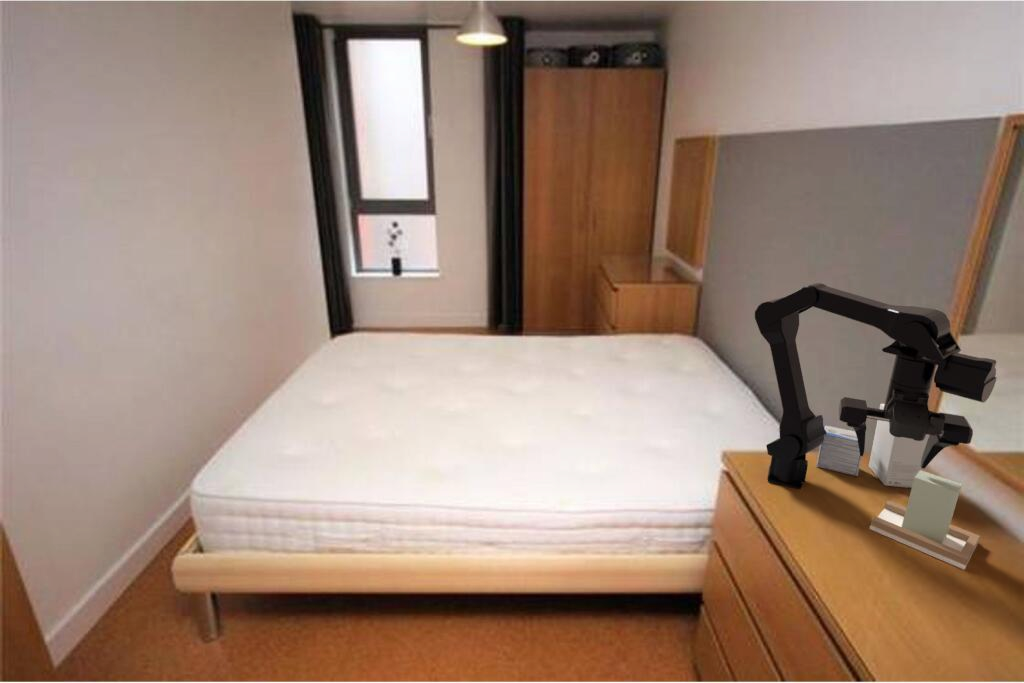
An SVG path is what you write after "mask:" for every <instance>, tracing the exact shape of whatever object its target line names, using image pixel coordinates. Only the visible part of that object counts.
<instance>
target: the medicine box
mask: <svg viewBox="0 0 1024 683" xmlns="http://www.w3.org/2000/svg"><path fill="white" fill-rule="evenodd" d="M823 426H824V429H825V431H826V432H827V434H825V435H824V441H823V442H822V443H821V445H820V446H819V451H818V456H817V462H816V467H818V468H821V469H825V470H830V471H834V472H838V473H843V474H845V475H851V476H855V477H858V476H859V472H860V466H861V463H862V462H861V461H862V457H863V456H860V451H859V445H858V439H857V435H856V433H855V430H848V429H845V428H840V427H835V426H830V425H823Z"/></svg>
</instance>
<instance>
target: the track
mask: <svg viewBox="0 0 1024 683" xmlns="http://www.w3.org/2000/svg"><path fill="white" fill-rule="evenodd" d="M906 508H907V506H905V505H902V504H900V503H896V502H894V501H891V500H887V501H886V502H885V505H884V508H883V510H882V511H881V512H880V513H879V514H878V516H876V515H874V517H873V518H872V519H871V523H870V525H869V530H871V531H874V532H875V533H877V534H880V535H883V536H885V537H887V538H890V539H893V540H894V541H897V542H898V543H901V544H904V545H906V546H908V547H910V548H913V549H915V550H918V551H920V552H922V553H924V554H926V555H929V556H931V557H934V558H936V559H938V560H941V561H943V562H945V563H948V564H950V565H952V566H954V567H956V568H959V569H961V570H964V571H965V570H966V568H967V565H968V564H969V562H970V560H971V558H972V556H973V553H974V552H975V550H976V548H977V546H978V544H979V541H980V537H981V535H979V534H976V533H975V532H972V531H969V530H967V529H963V528H961V527H958V526H956V525H954V524H951V523H950V526H949V530H948V533H947V536H946V538H945V540H944V542H943V543H942V544H941V543H939V542H936V541H934V540H931V539H929V538H927V537H924V536H922V535H919V534H917V533H914V532H912V531H910V530H907V529H905V528H902V523H903V519H904V516H905V512H906Z"/></svg>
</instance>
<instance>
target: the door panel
mask: <svg viewBox="0 0 1024 683" xmlns="http://www.w3.org/2000/svg"><path fill="white" fill-rule="evenodd" d="M962 486H963V484H962V483H960V482H956V481H953V480H951V479H948V478H945V477H942V476H939V475H936V474H933V473H931V472H928V471H924V470H922V469H921V470H920V471H919V472H918V474H917V475H916V476H915V478H914V481H913V485H912V488H910V494H909V497H908V502H907V505H906V507H907V508H906V512H905V516H904V519H903V523H902V528H905V529H907V530H910V531H912V532H914V533H917V534H919V535H922V536H924V537H927V538H929V539H931V540H934V541H936V542H939V543H941V544H942V543H943V542H944V540H945V538H946V536H947V533H948V530H949V526H950V524H951V523H952V519H953V515H954V512H955V509H956V506H957V502H958V499H959V495H960V493H961V488H962Z"/></svg>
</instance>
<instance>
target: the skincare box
mask: <svg viewBox="0 0 1024 683" xmlns="http://www.w3.org/2000/svg"><path fill="white" fill-rule="evenodd" d="M884 405H885V403H880V405H879V409H881V410H883V409H884ZM889 428H890V427H889V422H887V421H882V420H877V421H876V426H875V429H874V430H875V431H874V432H875V433H874V437H873V443H872V447H871V452H870V458H869V463H868V467H869V468H870V470H871V471H872V472H873V473H874V474H875V476H876V477H877V478H878V479H879V481H880V482H881V483H882V484H883V485H884V486H887V487H896V488H897V487H898V488H908V489H909V488H910V489H912V485H913V481H914V478H915V476H916V475H917V474H918V472H919V471H920V470H922V468H921V460H922V456H923V453H924V450H925V447H926V444H927V441H928V438H929V435H927V434H926V436H925V438H924V440H922V441H916V440H914V439H910V438H904V437H895V436H893V435H891V434H890V432H889Z"/></svg>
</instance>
